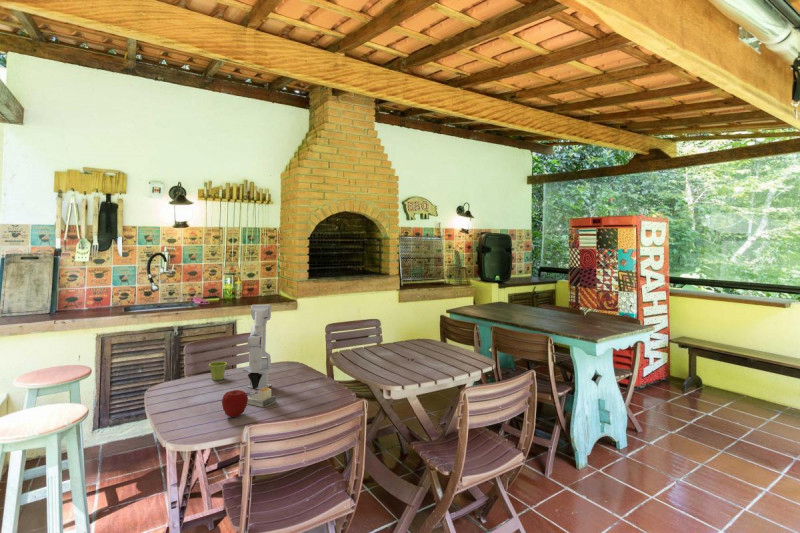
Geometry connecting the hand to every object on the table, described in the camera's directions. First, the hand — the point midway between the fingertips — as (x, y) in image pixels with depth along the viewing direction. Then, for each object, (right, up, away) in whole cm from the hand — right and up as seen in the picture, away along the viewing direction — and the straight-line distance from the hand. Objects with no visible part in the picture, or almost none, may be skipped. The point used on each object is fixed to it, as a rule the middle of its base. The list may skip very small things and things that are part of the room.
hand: (255, 387), depth 203 cm
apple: (-3, -7, -18) cm, 20 cm away
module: (+6, -6, -3) cm, 9 cm away
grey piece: (+2, -6, -2) cm, 7 cm away
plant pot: (-33, -5, +33) cm, 47 cm away
